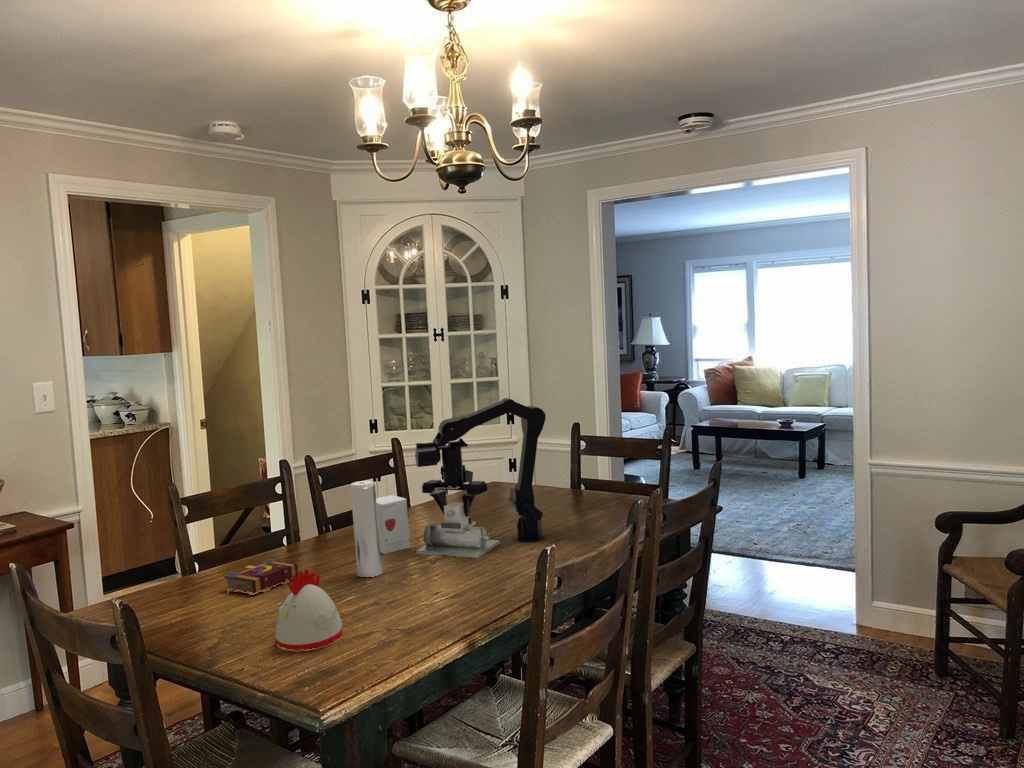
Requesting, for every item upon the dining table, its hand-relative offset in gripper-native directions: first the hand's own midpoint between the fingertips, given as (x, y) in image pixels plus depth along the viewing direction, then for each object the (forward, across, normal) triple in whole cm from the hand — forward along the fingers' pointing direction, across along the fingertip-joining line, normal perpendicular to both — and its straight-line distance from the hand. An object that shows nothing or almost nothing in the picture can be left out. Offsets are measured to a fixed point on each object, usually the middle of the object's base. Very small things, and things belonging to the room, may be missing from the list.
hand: (456, 516), depth 226 cm
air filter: (+10, +13, +26) cm, 31 cm away
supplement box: (+10, +21, +4) cm, 24 cm away
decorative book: (+10, +37, +41) cm, 56 cm away
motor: (+10, 0, 0) cm, 10 cm away
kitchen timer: (+10, +1, +66) cm, 67 cm away
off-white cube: (+2, 0, 0) cm, 2 cm away
